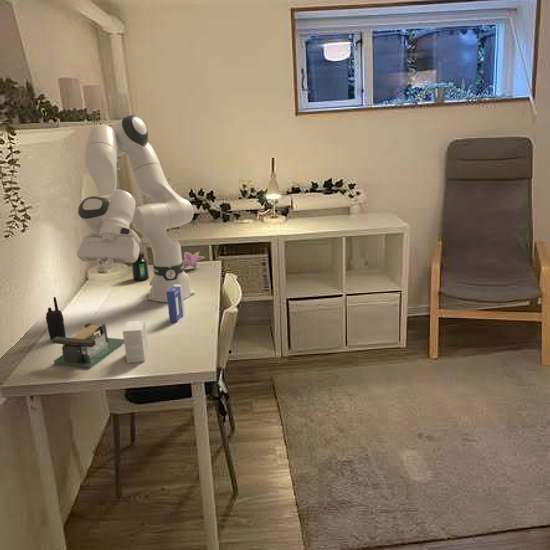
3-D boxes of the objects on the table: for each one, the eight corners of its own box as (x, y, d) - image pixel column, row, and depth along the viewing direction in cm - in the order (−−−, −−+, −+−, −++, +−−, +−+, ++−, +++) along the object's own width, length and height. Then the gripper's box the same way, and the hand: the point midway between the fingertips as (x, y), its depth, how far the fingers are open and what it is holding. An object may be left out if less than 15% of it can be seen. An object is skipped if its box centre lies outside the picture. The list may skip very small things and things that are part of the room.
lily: (209, 269, 267) (202, 250, 268) (204, 266, 255) (197, 247, 256) (186, 278, 267) (179, 259, 269) (180, 276, 256) (173, 256, 257)
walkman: (177, 322, 201) (173, 290, 198) (169, 322, 202) (166, 290, 198) (185, 314, 209) (182, 283, 205) (178, 314, 209) (175, 283, 206)
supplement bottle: (146, 281, 250) (143, 255, 246) (131, 281, 250) (128, 255, 247) (150, 276, 256) (147, 251, 253) (135, 277, 257) (132, 251, 253)
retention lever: (76, 323, 183) (52, 339, 172) (113, 326, 179) (90, 343, 168) (77, 327, 184) (52, 343, 173) (114, 330, 179) (91, 347, 168)
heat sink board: (91, 339, 190) (88, 316, 188) (125, 342, 186) (121, 319, 184) (54, 364, 173) (49, 339, 171) (90, 368, 169) (86, 343, 167)
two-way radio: (67, 335, 194) (60, 295, 190) (65, 341, 190) (57, 299, 186) (50, 337, 193) (43, 296, 189) (47, 342, 189) (40, 301, 185)
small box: (131, 352, 179) (126, 321, 176) (148, 350, 179) (145, 320, 176) (126, 363, 172) (122, 331, 168) (145, 361, 172) (141, 330, 169)
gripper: (80, 229, 184) (67, 266, 178) (137, 230, 179) (126, 268, 173) (89, 239, 189) (77, 276, 183) (145, 240, 184) (134, 278, 178)
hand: (101, 272), depth 178 cm, fingers closed
